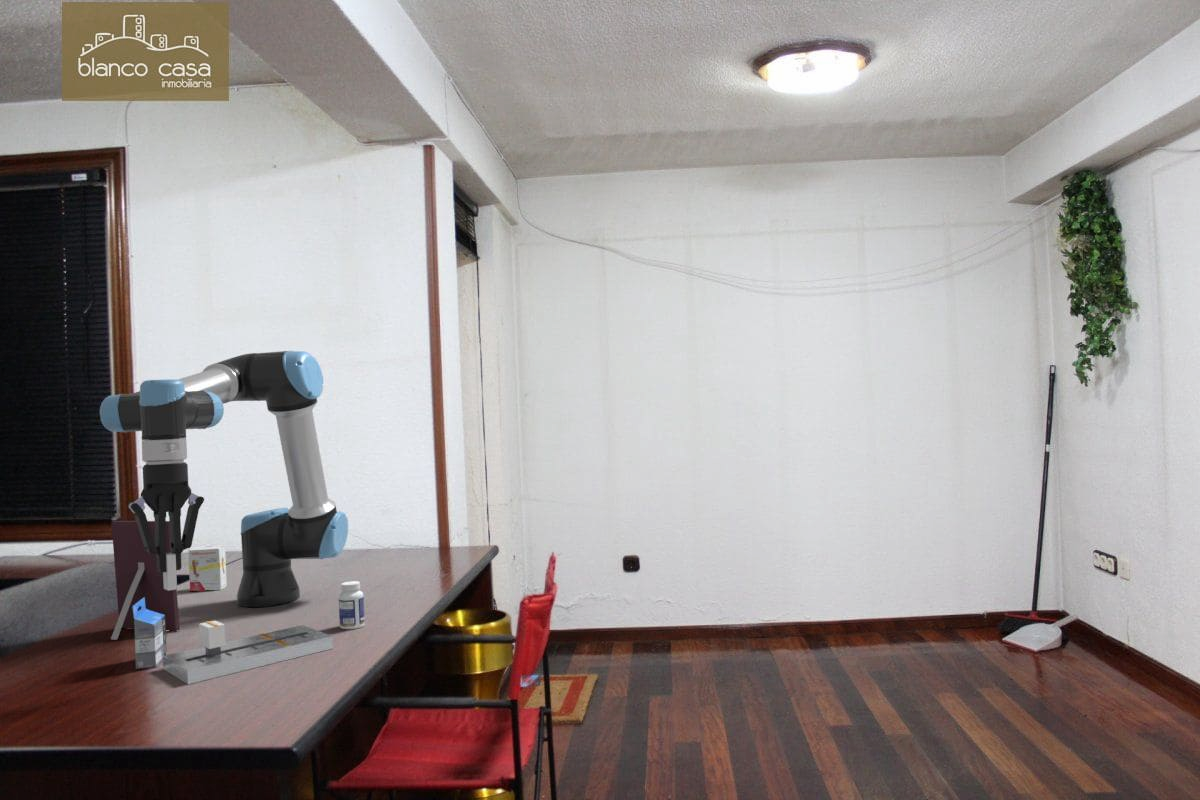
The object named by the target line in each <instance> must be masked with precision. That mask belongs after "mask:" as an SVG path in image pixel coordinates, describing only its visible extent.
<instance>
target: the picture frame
mask: <svg viewBox="0 0 1200 800" xmlns="http://www.w3.org/2000/svg"><path fill="white" fill-rule="evenodd" d="M147 521H148V524H149V527H150V531H151V534H152V537H153V540H154V543H155V520H147ZM110 523H111V535H112V547H113V548H112V549H113V561H114V572H115V585H116V586H115V587H116V597H117V598H116V600H117V610H118V617H117V618H118V619H117V621H116V623H115V627H114V629H113V632H112V634H111V637H110V640H112V641H113V640H114V641H115V640H118V639H119V635H120V632H121V631H122V629H121V628H134V615H133V609H132V606H133V605H135V604H136V603H137V602H139V601H140V600H141V599H142V598H144V597H145V607H146V609H147V610H150V611H153V612H157V613H160V614H163V615H165V627H166V630H169V631H177V630H180V616H179V615H180V613H179V605H178V604H179V602H178V588H177V589H175V590H169V591H168V590H166V589H164V582H163V573H160V572H158V570H157V556H156V554H153V553H149V552H146V550H145V547H144V544H143V541H142V538H141V535H140V532H139V528H138V525H137V522H136V520H114V521H113V520H112V521H111V522H110ZM166 542H167V553H172V551H171V546H170V523H169V520H166ZM155 547H156V544H155ZM139 610H141V607H140V606H139V608H138V611H139ZM177 632H178V631H177Z"/></svg>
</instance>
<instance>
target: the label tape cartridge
mask: <svg viewBox="0 0 1200 800" xmlns="http://www.w3.org/2000/svg"><path fill="white" fill-rule="evenodd" d="M139 606H140V607H141V610H139V611H138V608H139ZM132 609H133V615H134V652H135V654H134V655H135V670H141V669H153V668H157V666H159V664H160V663H161V662H163V656H165V655H168V654H167V651H168V649H167V633H166V627H165V615H163V614H160V613H157V612H153V611H150V610H147V609H146V607H145V597H144V598H142V599H141V600H140V601H139V602H137V603H136V604H135V605H133V606H132Z"/></svg>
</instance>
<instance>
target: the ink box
mask: <svg viewBox="0 0 1200 800" xmlns="http://www.w3.org/2000/svg"><path fill="white" fill-rule="evenodd" d="M187 552H188V573H189V592H190V591H200V592H207V591H206V590H215V591H222V590H224V589H225V588H227V584H228V583H227V560H226V559H227V557H226V556H227V555H226V545H224V544H221V545H220V544H217V545H202V546H201V545H198V546H194V547H191V548H189V549H188V551H187Z"/></svg>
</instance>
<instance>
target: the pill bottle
mask: <svg viewBox="0 0 1200 800" xmlns="http://www.w3.org/2000/svg"><path fill="white" fill-rule="evenodd" d="M340 585H341V586H340V588H341V591H342V592H340V593H339V595H338V616H339V618H338V619H339V626H340V629H342V630H354V629H355V630H356V629H359V628H362V627H364V626H365V624H366V623H365V622H366V618H365V598H364V592H363V591H362V590H360V589H361V582H360V581H357V580H352V581H345V582H342V583H341V584H340Z"/></svg>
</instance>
